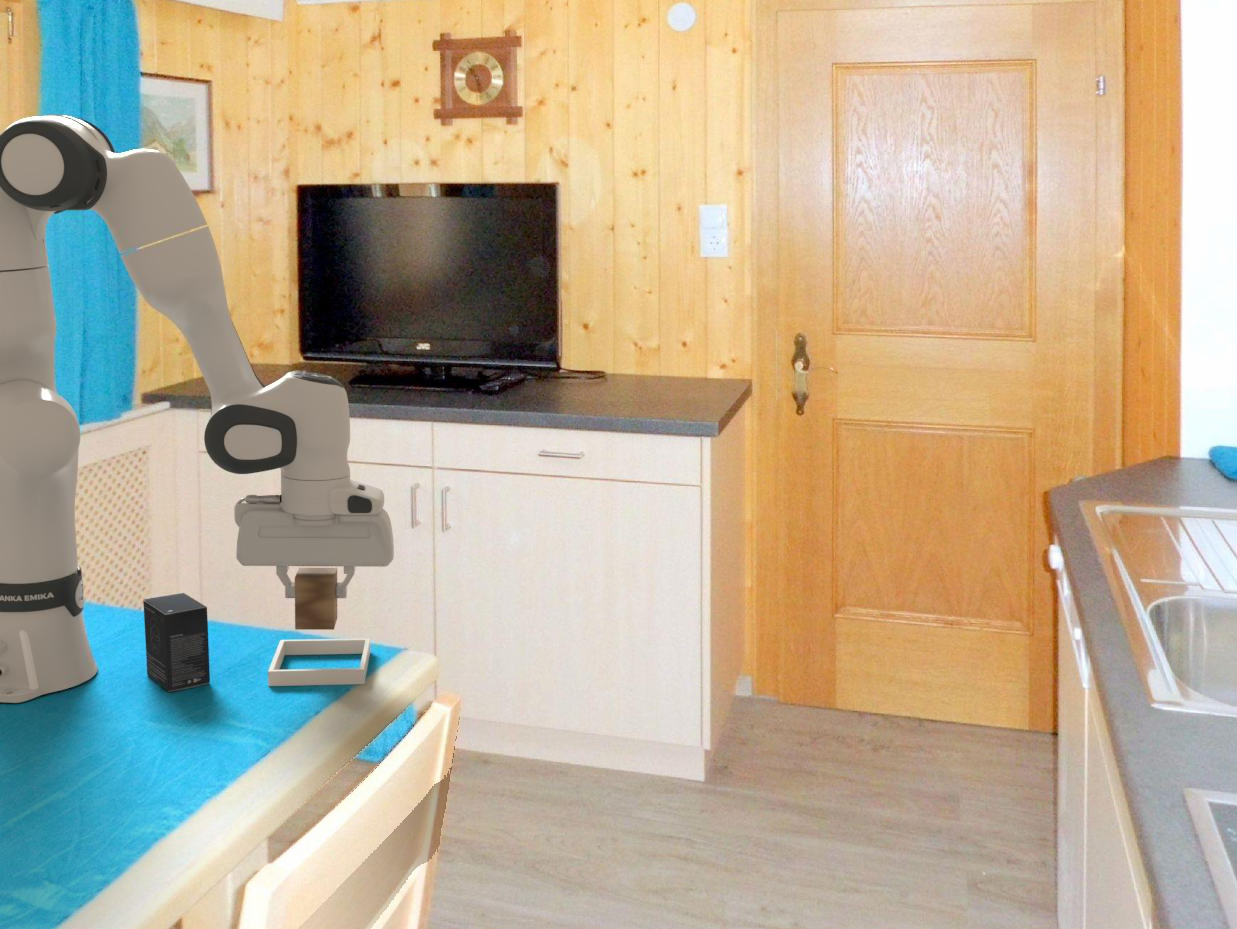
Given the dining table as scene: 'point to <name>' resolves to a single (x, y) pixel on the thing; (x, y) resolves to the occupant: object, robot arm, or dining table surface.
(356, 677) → the white square frame
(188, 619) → the box
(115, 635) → the dining table surface
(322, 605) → the walnut block
